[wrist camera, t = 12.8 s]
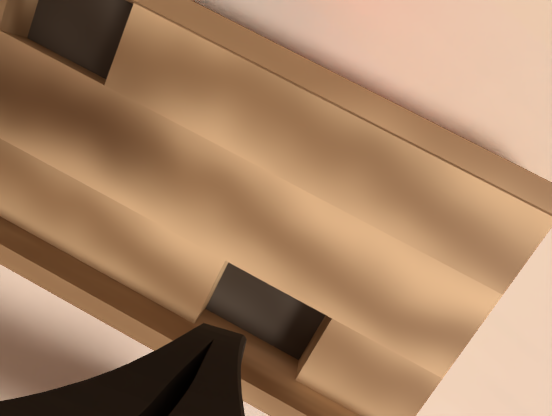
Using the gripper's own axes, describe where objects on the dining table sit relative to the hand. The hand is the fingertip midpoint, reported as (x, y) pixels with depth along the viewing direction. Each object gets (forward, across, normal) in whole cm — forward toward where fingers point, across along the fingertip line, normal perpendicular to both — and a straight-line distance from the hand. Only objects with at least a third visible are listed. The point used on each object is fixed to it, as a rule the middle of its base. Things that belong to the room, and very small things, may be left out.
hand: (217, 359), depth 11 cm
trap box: (+10, +6, -3) cm, 12 cm away
